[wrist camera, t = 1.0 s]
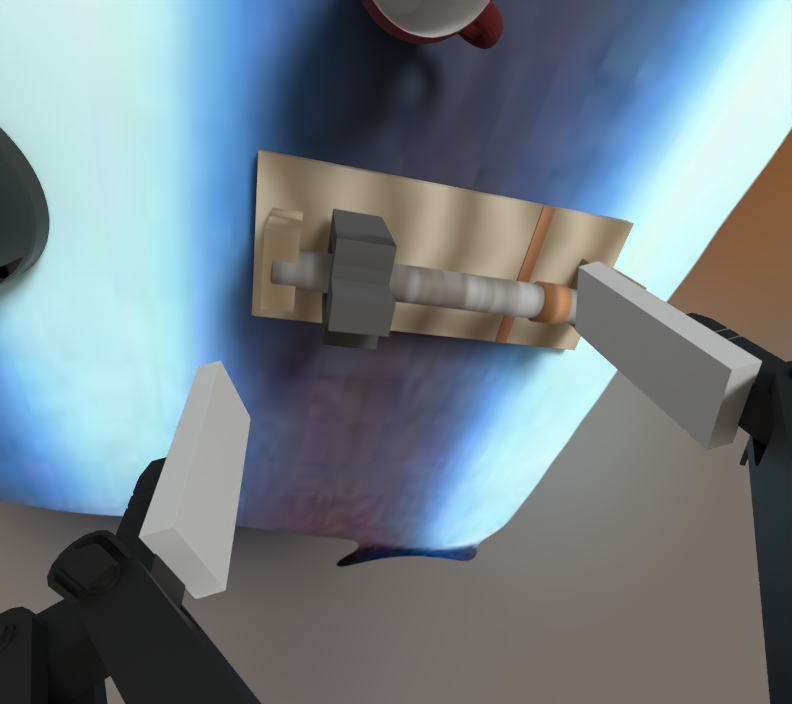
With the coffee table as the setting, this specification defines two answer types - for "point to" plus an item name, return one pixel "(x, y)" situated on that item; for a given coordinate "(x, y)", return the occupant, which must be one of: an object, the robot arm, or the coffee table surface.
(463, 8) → the mug
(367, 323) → the collar
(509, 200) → the pipe rig
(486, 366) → the coffee table surface
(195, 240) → the coffee table surface
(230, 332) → the coffee table surface
